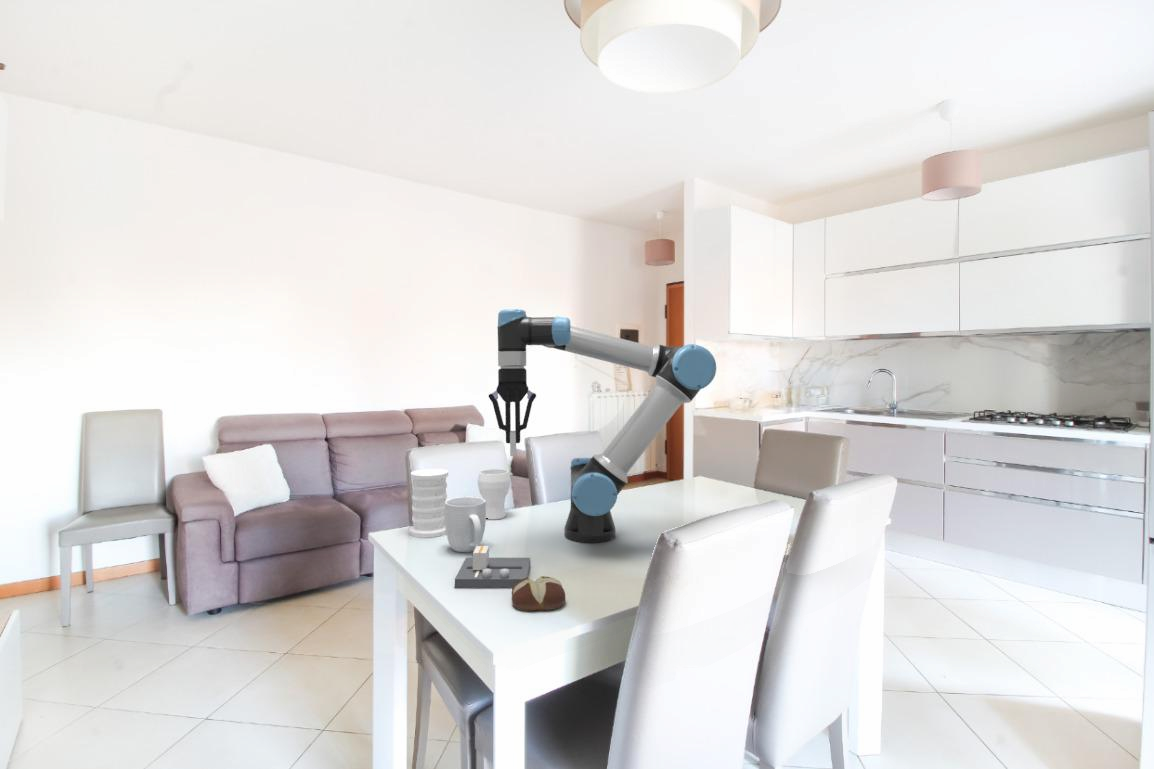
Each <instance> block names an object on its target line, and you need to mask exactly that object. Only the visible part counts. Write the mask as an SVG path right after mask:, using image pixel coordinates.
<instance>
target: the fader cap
mask: <svg viewBox="0 0 1154 769" xmlns="http://www.w3.org/2000/svg"><path fill="white" fill-rule="evenodd" d="M472 552H473V553H472V558H473V570H483V569H486V568H487V566H488V563H489V558H490V546H489V545H479V546H476V548H475V550H474V551H472Z"/></svg>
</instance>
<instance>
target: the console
mask: <svg viewBox="0 0 1154 769" xmlns="http://www.w3.org/2000/svg"><path fill="white" fill-rule="evenodd" d="M529 569H530V570H531V557H489V563H488V566H487V568H486V569H483V570H473V557H465V559H464V560H463V563H462V564H461V566H460V569H459V570H458V572H457V574H456V576H455V578H454V588H455V589H512V588H513V586H514V585H515V584H516V583H517V582H518V581H520V580H521V579H524V578H527V577H528V578H529V574H530V570H529Z"/></svg>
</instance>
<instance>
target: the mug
mask: <svg viewBox="0 0 1154 769" xmlns="http://www.w3.org/2000/svg"><path fill="white" fill-rule="evenodd" d="M486 520H487V519H486V501H485V499H483V498H482V497H478V496H457V497H451V498H449V499H446V501H445V529H446V534H445V535H446V537H447V538H446V539H447V541H448V543H449V546H450V547H451V549H452V551H455V552H457V553H469V552H474V550H475V548H476V546H481V543H482V540H483V538H484V534H485V530H486V522H487V521H486Z"/></svg>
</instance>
